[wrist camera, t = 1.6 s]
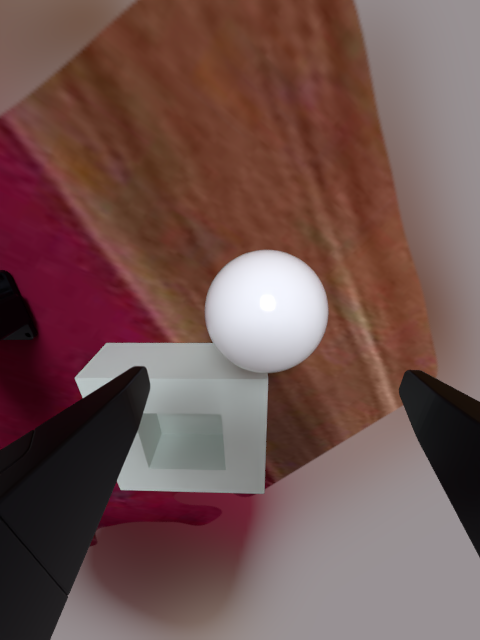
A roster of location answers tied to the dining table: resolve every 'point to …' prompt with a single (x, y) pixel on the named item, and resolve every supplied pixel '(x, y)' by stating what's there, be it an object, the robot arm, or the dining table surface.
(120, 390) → the robot arm
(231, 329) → the lightbulb
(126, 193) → the dining table surface
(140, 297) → the dining table surface
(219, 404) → the socket block
